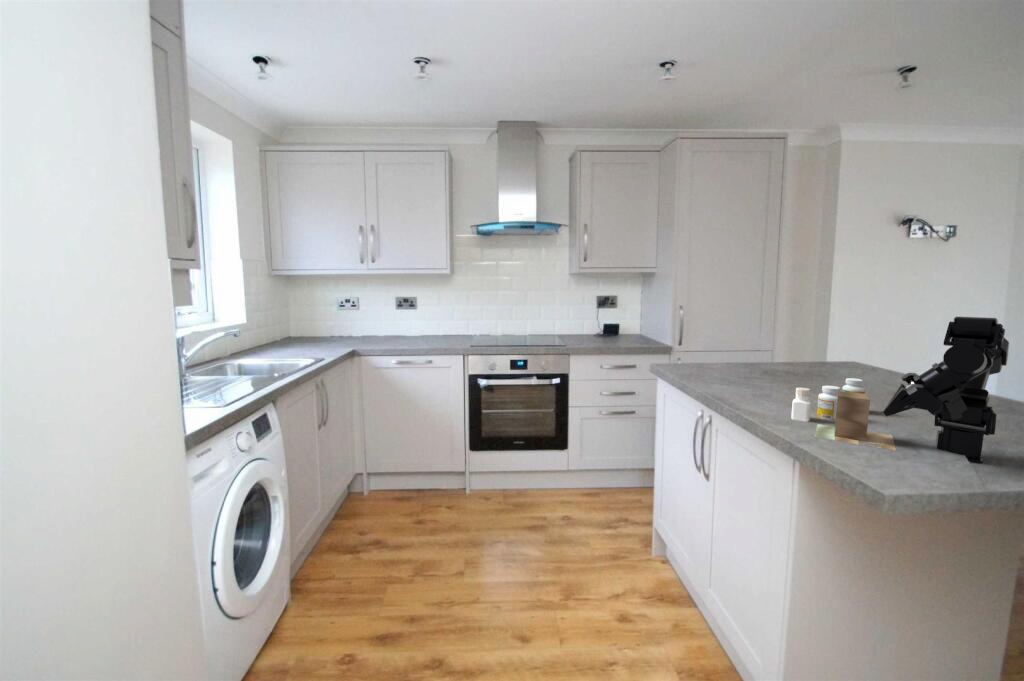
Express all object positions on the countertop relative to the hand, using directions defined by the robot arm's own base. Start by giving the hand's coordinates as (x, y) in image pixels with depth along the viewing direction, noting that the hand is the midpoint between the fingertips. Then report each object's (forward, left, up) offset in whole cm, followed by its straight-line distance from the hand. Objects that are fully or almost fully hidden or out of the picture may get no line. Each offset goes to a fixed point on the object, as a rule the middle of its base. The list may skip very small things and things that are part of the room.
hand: (884, 414), depth 103 cm
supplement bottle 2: (+6, -31, -8) cm, 33 cm away
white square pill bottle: (+17, -9, -8) cm, 21 cm away
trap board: (+5, 0, -8) cm, 9 cm away
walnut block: (+6, 0, -6) cm, 9 cm away
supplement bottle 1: (+11, -15, -8) cm, 20 cm away
